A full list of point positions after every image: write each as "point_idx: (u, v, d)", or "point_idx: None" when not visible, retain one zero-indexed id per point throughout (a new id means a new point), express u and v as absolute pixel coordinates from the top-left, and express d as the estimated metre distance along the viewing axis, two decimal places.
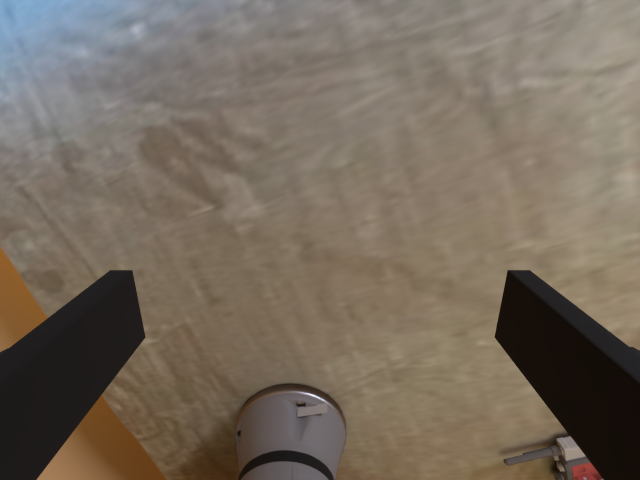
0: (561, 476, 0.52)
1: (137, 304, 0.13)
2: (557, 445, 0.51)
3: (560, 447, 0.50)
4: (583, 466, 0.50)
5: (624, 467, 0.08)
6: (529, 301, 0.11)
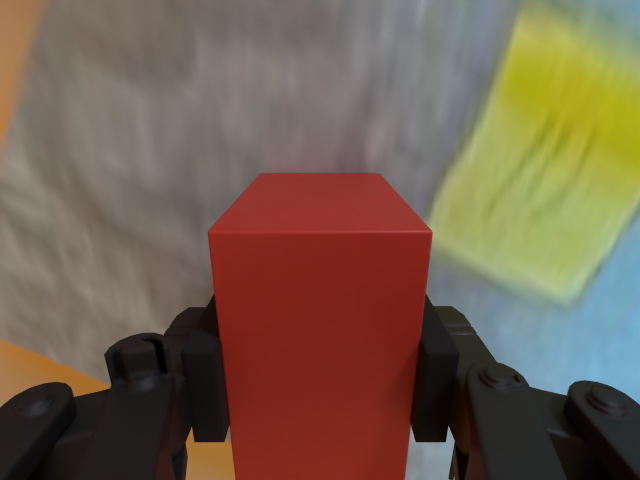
0: None
1: None
2: None
3: None
4: None
5: None
6: None
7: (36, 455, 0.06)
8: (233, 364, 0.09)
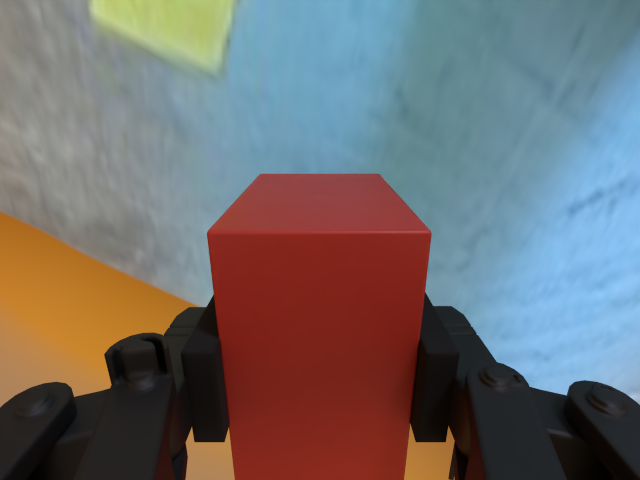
0: None
1: None
2: None
3: None
4: None
5: None
6: None
7: (36, 455, 0.06)
8: (232, 364, 0.09)
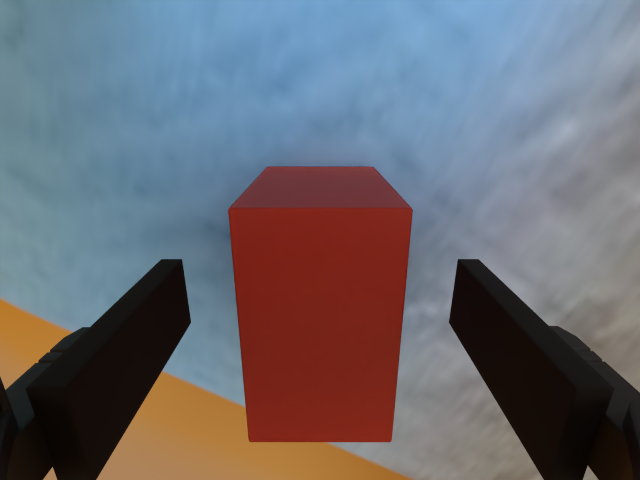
0: None
1: (185, 291, 0.14)
2: None
3: None
4: None
5: (534, 429, 0.09)
6: (472, 287, 0.12)
7: None
8: (247, 322, 0.11)
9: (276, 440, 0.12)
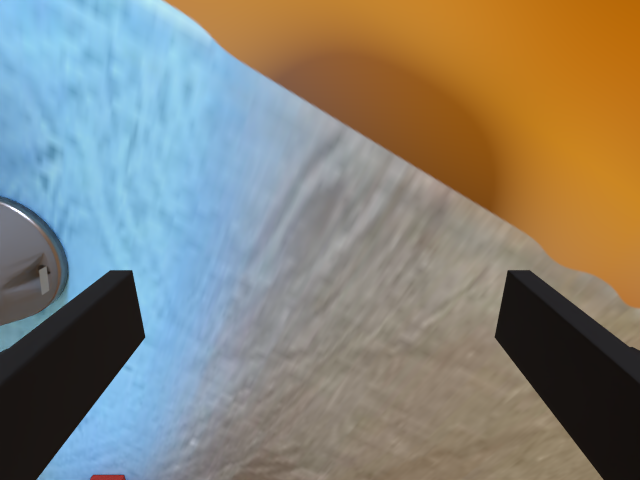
0: None
1: (137, 304, 0.13)
2: None
3: None
4: None
5: (624, 467, 0.08)
6: (529, 302, 0.11)
7: None
8: None
9: None
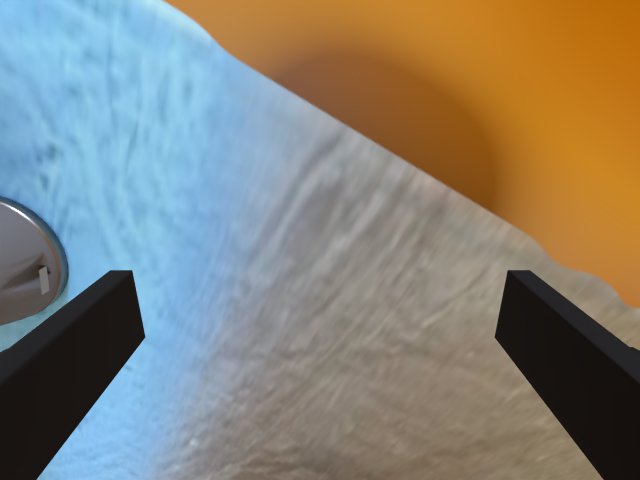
0: None
1: (137, 304, 0.13)
2: None
3: None
4: None
5: (624, 467, 0.08)
6: (529, 302, 0.11)
7: None
8: None
9: None
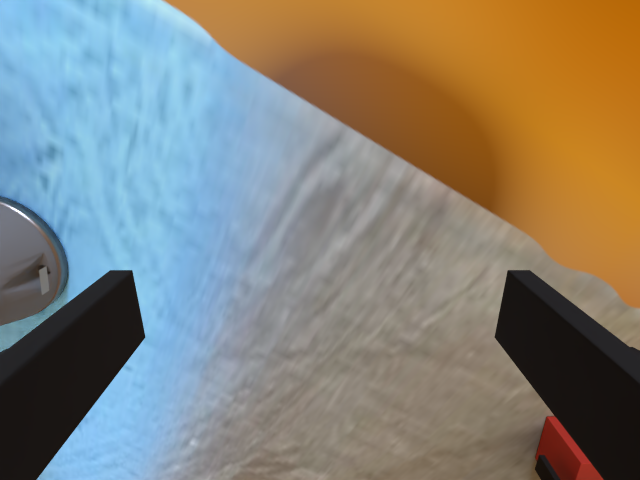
0: None
1: (137, 304, 0.13)
2: None
3: None
4: None
5: (624, 467, 0.08)
6: (529, 302, 0.11)
7: None
8: None
9: None
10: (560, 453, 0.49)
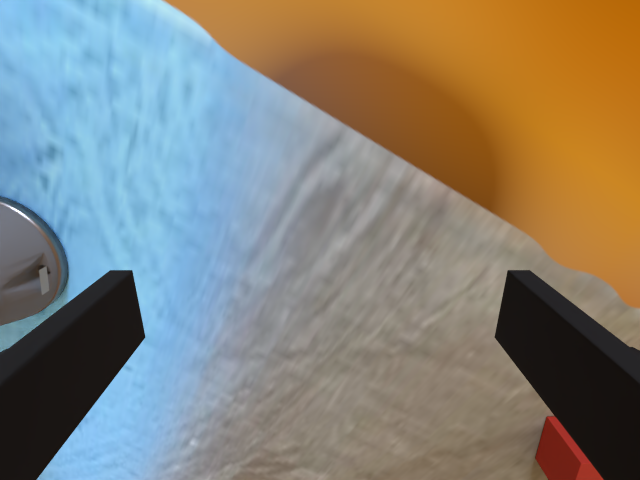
0: None
1: (137, 304, 0.13)
2: None
3: None
4: None
5: (624, 467, 0.08)
6: (529, 302, 0.11)
7: None
8: None
9: None
10: (560, 453, 0.49)
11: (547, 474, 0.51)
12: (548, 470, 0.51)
